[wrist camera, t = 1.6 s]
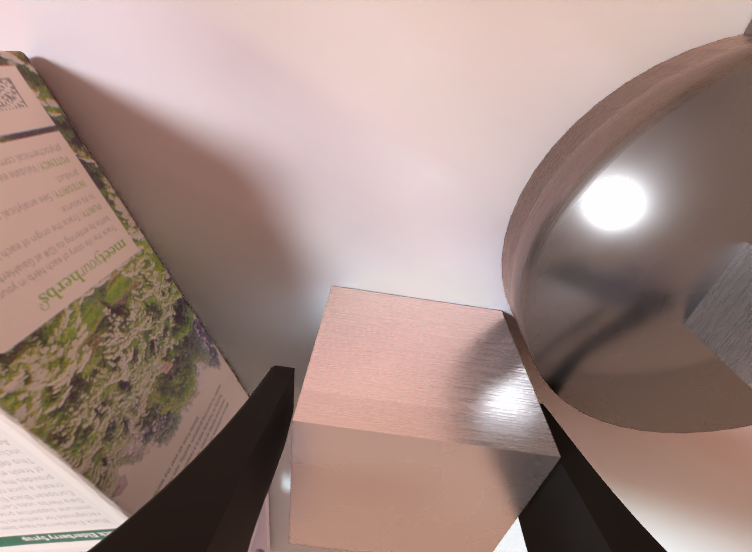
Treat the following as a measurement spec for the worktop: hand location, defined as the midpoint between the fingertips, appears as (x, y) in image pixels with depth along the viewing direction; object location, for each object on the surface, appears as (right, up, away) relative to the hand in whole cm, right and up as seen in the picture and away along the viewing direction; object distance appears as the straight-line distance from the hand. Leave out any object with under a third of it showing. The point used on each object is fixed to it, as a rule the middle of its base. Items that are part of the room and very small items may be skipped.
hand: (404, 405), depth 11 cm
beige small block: (0, +1, +2) cm, 2 cm away
